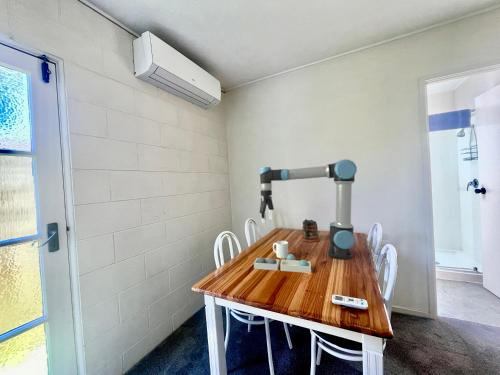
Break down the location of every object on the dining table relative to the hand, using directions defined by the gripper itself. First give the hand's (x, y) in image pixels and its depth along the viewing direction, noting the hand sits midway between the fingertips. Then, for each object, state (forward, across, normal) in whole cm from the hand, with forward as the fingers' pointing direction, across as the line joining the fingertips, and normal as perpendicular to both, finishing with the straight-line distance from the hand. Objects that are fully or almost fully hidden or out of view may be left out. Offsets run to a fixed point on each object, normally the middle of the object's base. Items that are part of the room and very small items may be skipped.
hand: (267, 220), depth 139 cm
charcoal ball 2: (+26, +13, +7) cm, 30 cm away
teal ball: (+26, +1, +16) cm, 31 cm away
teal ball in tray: (+26, +10, +25) cm, 37 cm away
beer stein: (+26, -51, +19) cm, 61 cm away
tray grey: (+26, +14, +4) cm, 30 cm away
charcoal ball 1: (+26, +14, +1) cm, 29 cm away
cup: (+26, -7, +6) cm, 28 cm away
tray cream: (+26, +10, +21) cm, 35 cm away
